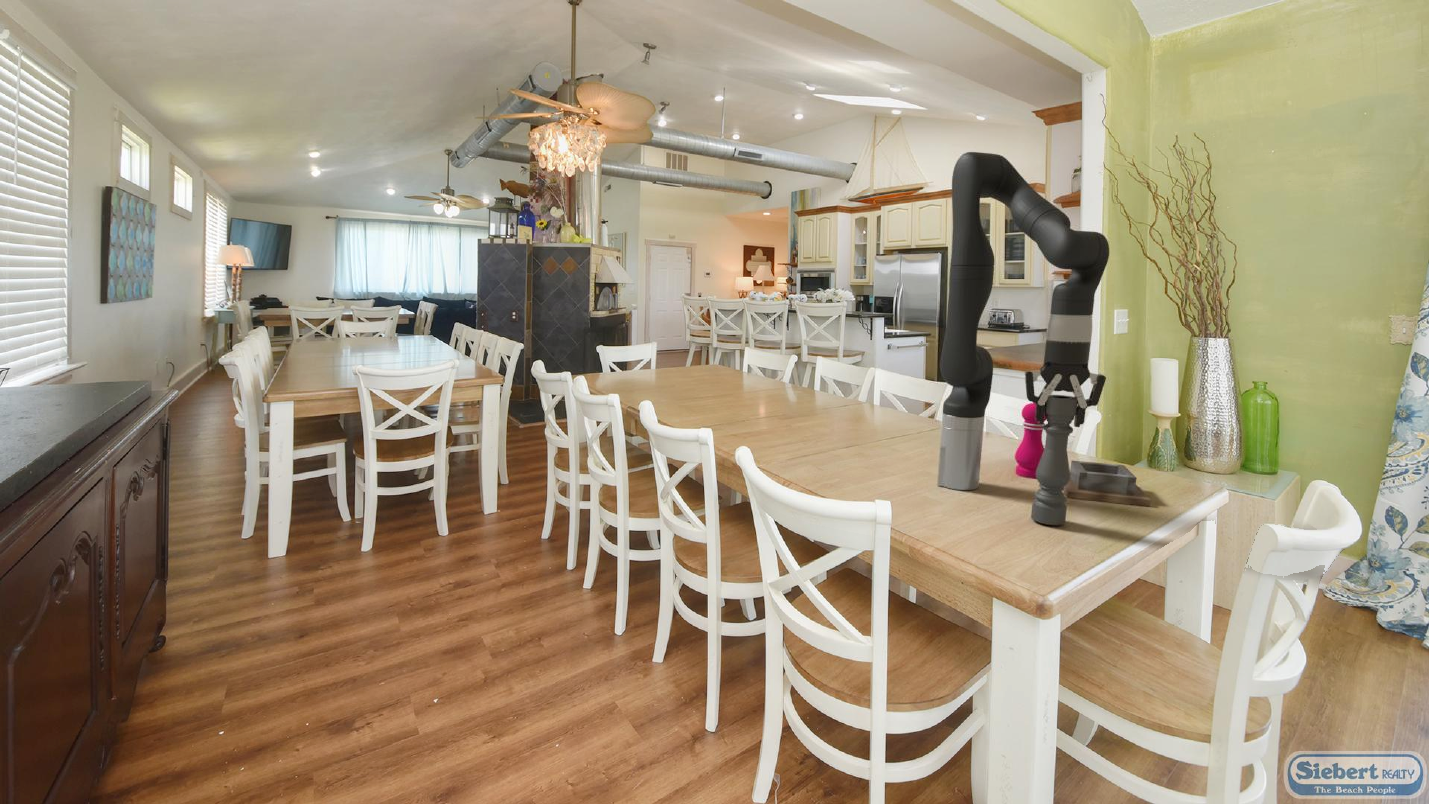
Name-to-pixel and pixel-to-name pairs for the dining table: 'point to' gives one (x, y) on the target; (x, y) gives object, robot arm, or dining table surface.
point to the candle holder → (1054, 461)
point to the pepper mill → (1030, 444)
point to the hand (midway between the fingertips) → (1058, 424)
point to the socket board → (1104, 484)
